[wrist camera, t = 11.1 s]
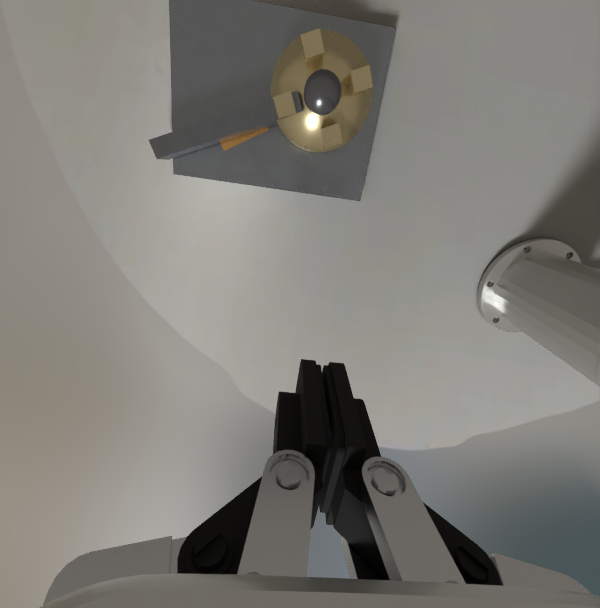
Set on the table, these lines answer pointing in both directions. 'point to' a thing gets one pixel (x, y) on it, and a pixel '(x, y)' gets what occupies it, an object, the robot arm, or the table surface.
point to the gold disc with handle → (295, 100)
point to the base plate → (262, 93)
